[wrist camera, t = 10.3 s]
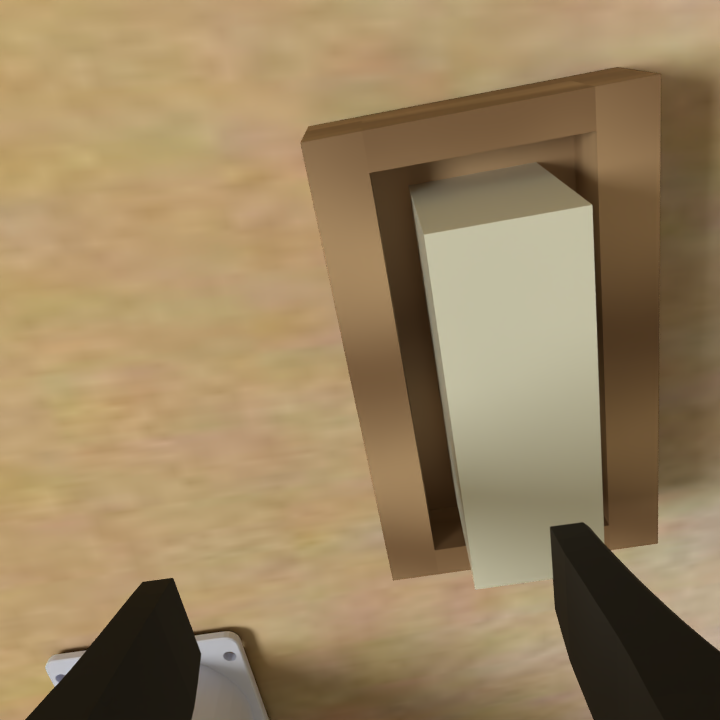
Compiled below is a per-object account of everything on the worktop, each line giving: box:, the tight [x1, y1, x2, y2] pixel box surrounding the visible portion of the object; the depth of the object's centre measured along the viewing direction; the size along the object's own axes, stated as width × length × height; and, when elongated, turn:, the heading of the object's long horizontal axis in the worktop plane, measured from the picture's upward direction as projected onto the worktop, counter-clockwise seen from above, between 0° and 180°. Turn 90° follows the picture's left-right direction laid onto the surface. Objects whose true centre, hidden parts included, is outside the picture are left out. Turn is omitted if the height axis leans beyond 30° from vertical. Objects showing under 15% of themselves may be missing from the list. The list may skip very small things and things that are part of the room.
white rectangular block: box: [408, 162, 604, 590], centre depth 19 cm, size 10×4×5 cm, turn 10°
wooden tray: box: [301, 67, 661, 580], centre depth 21 cm, size 14×8×3 cm, turn 10°
